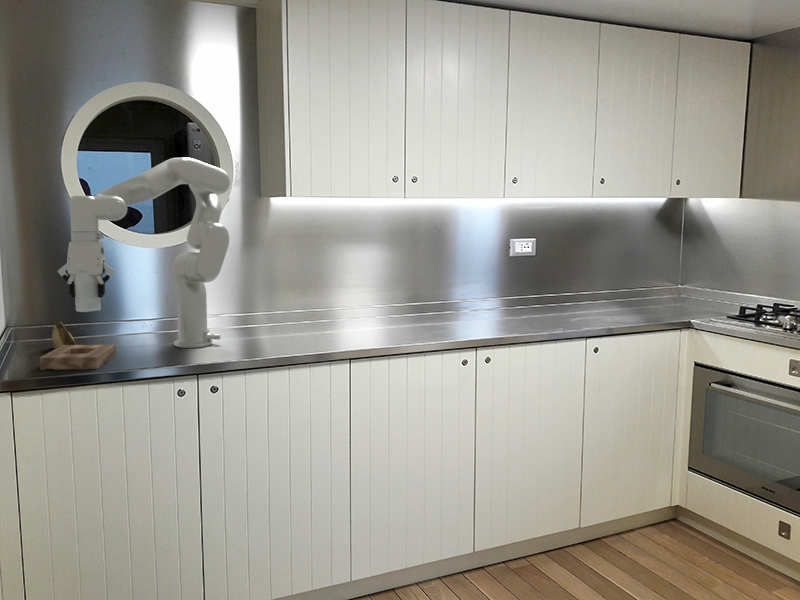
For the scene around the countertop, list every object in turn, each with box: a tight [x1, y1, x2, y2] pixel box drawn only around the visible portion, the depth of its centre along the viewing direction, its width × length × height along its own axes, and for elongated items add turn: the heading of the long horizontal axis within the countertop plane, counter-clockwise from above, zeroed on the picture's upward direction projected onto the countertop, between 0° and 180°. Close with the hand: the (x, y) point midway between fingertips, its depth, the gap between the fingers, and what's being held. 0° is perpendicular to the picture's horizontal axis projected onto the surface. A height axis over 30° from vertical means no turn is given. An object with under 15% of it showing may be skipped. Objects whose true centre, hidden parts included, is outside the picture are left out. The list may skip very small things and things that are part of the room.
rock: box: [51, 321, 78, 349], centre depth 233 cm, size 11×9×10 cm
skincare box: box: [74, 272, 102, 313], centre depth 212 cm, size 6×4×12 cm
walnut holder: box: [39, 344, 117, 371], centre depth 215 cm, size 16×18×4 cm
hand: (87, 296), depth 213 cm, fingers closed on skincare box, 7 cm apart
